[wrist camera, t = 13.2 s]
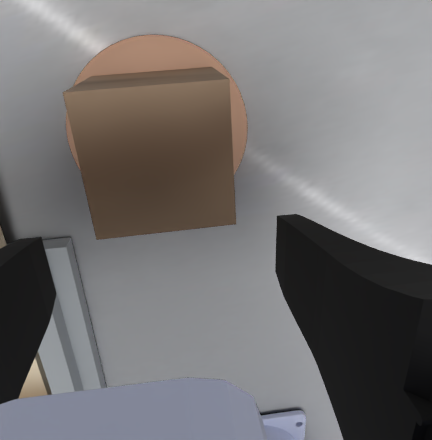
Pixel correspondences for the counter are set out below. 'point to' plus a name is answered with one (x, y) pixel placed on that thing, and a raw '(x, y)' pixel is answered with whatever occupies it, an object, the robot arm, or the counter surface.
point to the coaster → (159, 61)
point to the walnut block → (154, 150)
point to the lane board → (69, 327)
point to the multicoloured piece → (32, 368)
